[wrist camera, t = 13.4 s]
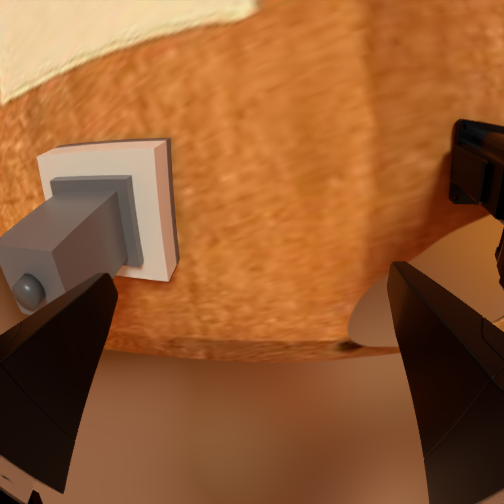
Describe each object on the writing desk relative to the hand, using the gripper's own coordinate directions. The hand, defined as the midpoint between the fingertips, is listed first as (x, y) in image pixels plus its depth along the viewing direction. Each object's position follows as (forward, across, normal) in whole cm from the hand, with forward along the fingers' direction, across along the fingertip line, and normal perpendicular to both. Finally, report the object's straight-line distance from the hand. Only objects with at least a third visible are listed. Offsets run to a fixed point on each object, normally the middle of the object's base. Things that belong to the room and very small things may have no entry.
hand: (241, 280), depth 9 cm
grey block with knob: (+12, +12, +2) cm, 17 cm away
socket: (+13, +12, +2) cm, 18 cm away
